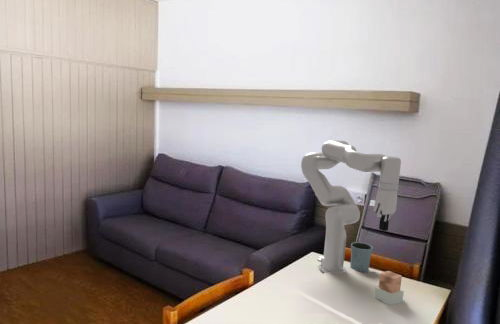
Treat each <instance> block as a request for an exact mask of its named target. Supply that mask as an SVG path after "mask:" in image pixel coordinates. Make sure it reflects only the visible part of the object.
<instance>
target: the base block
mask: <svg viewBox="0 0 500 324" xmlns="http://www.w3.org/2000/svg"><path fill="white" fill-rule="evenodd" d="M373 296H374V297H375V298H374V299H376V298H378V299H380V300H382V301H384V302H383V303H385V302H387V303H389V304H391V305H393V304H395V303H397V302H399V301H401V300H404V289H402V288H400V290H399V291H397V292H395V293H390V292H387V291H385V290H383V289H380V288H379V285H378V286H376V287H375V286H374V293H373ZM378 299H377V300H378ZM380 300H379V301H380ZM382 301H381V302H382ZM387 303H386V304H387ZM389 304H388V305H389ZM391 305H390V306H391Z"/></svg>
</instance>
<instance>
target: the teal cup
mask: <svg viewBox="0 0 500 324" xmlns="http://www.w3.org/2000/svg"><path fill="white" fill-rule="evenodd" d="M373 248H374V247H373V245H371V244H369V243H366V242H360V241H357V242H356V241H354V242H352V243H351V244H350V254H351V255H350V266H349V267H350V269H352V270H353V271H357V272H359V273H362V274H364V273H368V272H369V268H370V263H371V257H372V253H373Z"/></svg>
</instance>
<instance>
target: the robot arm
mask: <svg viewBox="0 0 500 324" xmlns="http://www.w3.org/2000/svg"><path fill="white" fill-rule="evenodd" d="M300 163H301V166H300V167H301V168H300V169H301V172H302V175H303V176H304V178H305V179H306V181H307V182H308V184H309V185H310V186H311V188H312V191H313V192H314V194H315V196H316V197H317V199H318V201H319V202H320V204H321V205H322V206H325V207H328V208H327V209H326V211H325V236H324V237H325V239H324V248H323V249H324V250H323V256H321V255H320V256H318V258H317V259H316V260H317V262H319V263H320V264H319V267H318V268H319V271H320V272H322V273H324V274H327V273H331V274H343V273H345V272H347V269H346V267H345V266H344V265H345V264H344V263H345V254H346V253H345V252H346V245H347V243H346V242H347V231H346V229H345V228H346V227H345V226H347V225H351V224H355V223H357V222H358V221H359V220H360V217H361V211H360V208H359V207H358V206H357V203H356V201H355V200H354V199H353V197H352V195H351V194H350V192H349V191H348V189H346V187H345V186H342V185H333V184H331V183H330V181H329V180H328V178H327V177H326V175H325V174H323V172H321V171H320V170H330V169H332V168H334V167H337V165H338V164H340V163H343V164H345V165H346V166H347V167H349V168H351V169H353V170H356V171H359V172H363V173H375V172H377V173H379V172H380V174H379V181H378V188H377V192H376V195H375V200H374V205H373V212H374V213H376V217H377V218H378V219H379V224H378V229H379V230H380V231H384V232H386V231H387V232H388V231H389V226H390V225H389V223H390V221H391V220H390V219H391V217H392V216H393V215H394V213H395V212H396V211H397V204H398V189H399V182H400V176H401V175H400V174H401V168H402V167H401V165H402V161H401V158H399V157H397V156H388V155H385V154H383V153H364V152H359V151H357V149H356V147H355V146H353V145H350V144H349V142H346V141H345V140H327V141H325V142H324V143H323V144H322V146H321V152H320V151H317V152H315V151H314V152H308V153H306V154H305V155H304V156H303V157H302V159H301V162H300Z"/></svg>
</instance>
